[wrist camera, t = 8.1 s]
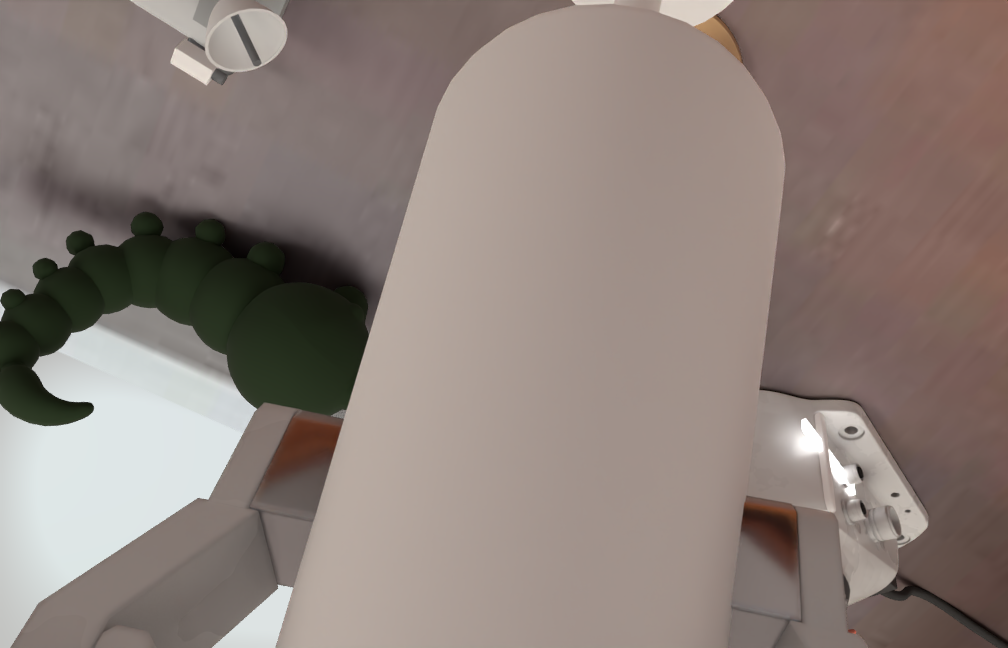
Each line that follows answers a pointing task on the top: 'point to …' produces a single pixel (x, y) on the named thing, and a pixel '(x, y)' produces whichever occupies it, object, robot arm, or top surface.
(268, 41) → the toy car
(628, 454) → the champagne flute
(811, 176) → the top surface
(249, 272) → the toy figurine
